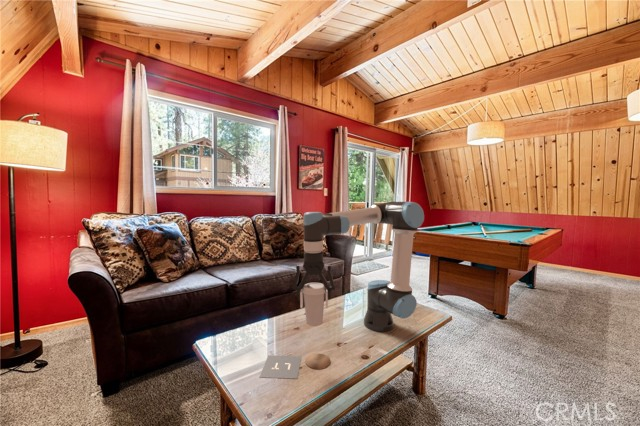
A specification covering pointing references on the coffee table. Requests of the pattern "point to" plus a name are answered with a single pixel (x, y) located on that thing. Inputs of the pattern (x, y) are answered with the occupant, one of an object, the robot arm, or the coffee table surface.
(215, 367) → the coffee table surface
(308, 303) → the coffee cup
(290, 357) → the tile
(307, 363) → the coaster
